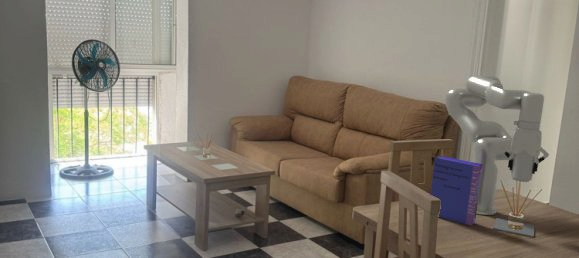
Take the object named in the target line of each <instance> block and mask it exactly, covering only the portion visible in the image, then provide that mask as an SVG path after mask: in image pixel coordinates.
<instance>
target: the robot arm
mask: <svg viewBox="0 0 579 258" xmlns="http://www.w3.org/2000/svg"><path fill="white" fill-rule="evenodd" d="M465 87H466V88H463V87H461V88H460V87H459V88H458V87H456V88H453V89H450V90H449V91H448V92H447V93H446V95H445V106H446V110H447V112H448V115H450V117H451V118H452V120H454V121H455V122H456V124H458V126H459V128H460V129H461V131H462V132H463V133H464V135H465V136H466V138H467V139H468V140H469V142H472V143H474V145H473V155H474V156H473V157H474V158H473V159H474V163H479V164H483V167H482V174H481V182H480V190H479V197H478V205H477V212H476V215H482V216H483V215H484V216H493V215H496V214H497V209H496V208H495V207H494V204H495V196H496V190H497V181H498V173H499V171H498V167H497V165H496V162H495V161H508V165H507V168H508V169H509V171H511V170H512V163H513V157H514V155H517V154H518V153H521V152H522V151H528V152H527V153H528V154H530V155H531V156H532V157H534V160H535V161H534V167H533V174H532V175H535V173H536V172H538V169H539V168H538V167H539V164H540V163H542V162H543V161H544V160H546V158H548V157H549V156H550V153H549V152H547V150H546V149H544V148H543V147H542V135H543V134H542V131H541V129H540V128H541V121H542V114H543V108H544V102H545V96H544V95H543V94H542V93H537V92H531V91H528V90H519V89H504V86H503V83H502V82H501V80H500V79H499V78H498V77H496V76H494V75H483V74H482V75H481V74H480V75H479V74H476V75H472V76H471V77H469V78H467V81H466V83H465ZM486 104H489V105H491V106H493V107H495V108H498V109H501V110H517V111H518V110H519V115H518V120H514V121H513V125H515V126H517V127H515V128H514V131H513V134H512V136H511V135H510V134H509V132H508V131H507V130H506V129H505V128H504V127H503V125H502V124H500V123H499V122H497V121H491V120H490V121H489V120H488V121H487V120H486V121H485V120H482V119H480V118H479V116H477V115H476V113H475V112H474V111H473V110H471V109H470V108H481V107H483V106H485V105H486ZM540 153H542V154H543V155H542V156H540ZM539 156H540V157H539Z"/></svg>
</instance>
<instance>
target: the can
mask: <svg viewBox="0 0 579 258" xmlns="http://www.w3.org/2000/svg"><path fill="white" fill-rule="evenodd" d="M527 152H528V151H522V152H521V153H518V154H517V155H514V157H513V163H512V170H510V177H511V178H512V180H514V181H516V182H523V183H529V182H530V181H532V180H533V175H534V174H533V167H534V163H535V160H534V157H532V156H531V155H530V154H528V153H527Z"/></svg>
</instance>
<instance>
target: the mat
mask: <svg viewBox="0 0 579 258" xmlns="http://www.w3.org/2000/svg"><path fill="white" fill-rule="evenodd" d="M508 220H509V219H504V218H500V217H496V218H495V222H494V225H493V228H492V229H493V230H495V231H498V232H500V231H501V232H504V233H510V234H515V235H519V236H524V237H527V238H528V237H529V238H534V236H535V235H534V234H535V225H534V224H530V223H524V222H523V223H524V225H523V229H522V230H513V229H509V228H508V225H507V224H508Z"/></svg>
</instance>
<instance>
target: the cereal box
mask: <svg viewBox="0 0 579 258" xmlns="http://www.w3.org/2000/svg"><path fill="white" fill-rule="evenodd" d="M433 161H434V162H433V171H432V172H433V173H432V178H431V179H432V181H431V187H430V188H431V190H430V196H431V195H433V196H435V197H437V198H439V199H440V200H441V209H440V214H439V217H438V218H439V219H440V218H441V219H444V220H447V221H452V222H453V223H454V222H455V223H459V224H462V225H466V226H468V227H472V226H473V225H475V224H476V219H477V214H476V212H477V205H478V197H479V190H480V182H481V174H482V167H483V164H479V163H474V162H473V161H469V160H462V159H459V158H453V157H448V156H442V155H438V156H435V157H434V160H433Z"/></svg>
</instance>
